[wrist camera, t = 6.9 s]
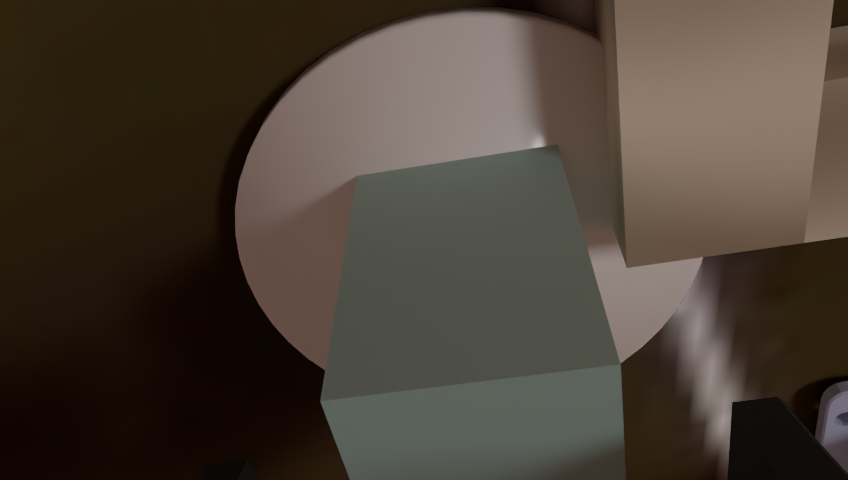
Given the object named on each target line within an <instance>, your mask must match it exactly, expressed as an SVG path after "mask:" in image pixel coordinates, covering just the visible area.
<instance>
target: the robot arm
mask: <svg viewBox="0 0 848 480" xmlns="http://www.w3.org/2000/svg"><path fill="white" fill-rule="evenodd" d="M199 480H258V479H257V477H256V475H255V473H254V471H253V469H252V467H251V465H250V463H249V461H248V459H245V460H237V461H228V462H220V463H211V464H210V465H209V466H208V467H207V468H206V470H205V471H204V473H203V474H202V476H201V477H200V479H199ZM728 480H848V381H843V382H839V383H835V384H833V385H831V386H830V387H828V388H827V389H826V390H825V391H824V392H823V395H822V397H821V402H820V408H819V414H818V420H817V426H816V433H815V437H814V436H813V435H812V433H811V432H810V431H809V430H808V429H807V428H806V427H805V425H804V424H803V423H802V422H801V421H800V420H799V418H798V417H797V416H796V415H795V414H794V413H793V411H792V410H791V409H790V408H789V407H788V406H787V404H786V403H785V402H784V401H782V400H781V399H779V398H778V397H774V398H765V399H757V400H748V401H740V402H732V418H731V434H730V450H729V466H728Z"/></svg>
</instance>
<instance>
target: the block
mask: <svg viewBox="0 0 848 480" xmlns="http://www.w3.org/2000/svg"><path fill="white" fill-rule="evenodd" d="M320 402H321V405H322V407H323V410H324V413H325V415H326V418H327V420H328V423H329V426H330V428H331V431H332V434H333V436H334V439H335V441H336V444H337V447H338V449H339V452H340V455H341V457H342V460H343V462H344V465H345V468H346V470H347V473H348V476H349V478H350V480H626V470H625V448H624V427H623V405H622V384H621V364H620V361H619V357H618V354H617V350H616V347H615V343H614V340H613V336H612V333H611V329H610V326H609V322H608V319H607V315H606V312H605V308H604V305H603V301H602V298H601V294H600V291H599V287H598V284H597V281H596V277H595V274H594V270H593V267H592V263H591V260H590V256H589V253H588V249H587V246H586V242H585V239H584V235H583V232H582V228H581V225H580V221H579V218H578V214H577V211H576V207H575V204H574V200H573V197H572V193H571V190H570V187H569V183H568V180H567V176H566V173H565V169H564V166H563V162H562V159H561V155H560V152H559V148H558V145H550V146H544V147H538V148H531V149H525V150H518V151H512V152H506V153H499V154H493V155H487V156H480V157H474V158H467V159H461V160H455V161H448V162H442V163H435V164H429V165H423V166H416V167H410V168H404V169H397V170H391V171H384V172H378V173H372V174H365V175H359V176H357V178H356V184H355V191H354V197H353V203H352V209H351V215H350V221H349V227H348V234H347V240H346V246H345V252H344V258H343V264H342V270H341V276H340V283H339V289H338V295H337V301H336V307H335V313H334V319H333V326H332V332H331V338H330V344H329V350H328V356H327V362H326V369H325V375H324V381H323V387H322V393H321V399H320Z"/></svg>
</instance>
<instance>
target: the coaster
mask: <svg viewBox="0 0 848 480" xmlns="http://www.w3.org/2000/svg"><path fill="white" fill-rule="evenodd" d="M550 145H558V148H559V152H560V155H561V159H562V162H563V166H564V169H565V173H566V176H567V180H568V183H569V187H570V190H571V193H572V197H573V200H574V204H575V207H576V211H577V214H578V218H579V221H580V225H581V228H582V232H583V235H584V239H585V242H586V246H587V249H588V253H589V256H590V260H591V263H592V267H593V270H594V274H595V277H596V281H597V284H598V287H599V291H600V294H601V298H602V301H603V305H604V308H605V312H606V315H607V319H608V322H609V326H610V329H611V333H612V336H613V340H614V343H615V347H616V350H617V354H618V357H619V361H620V363H622V362H623V361H624V360H626V359H627V358H628V357H629V356H631V355H632V354H633V353H635V352H636V351H637V350H639V349H640V348H641V347H642V346H644V345H645V344H646V343H647V342H648V341H649V340H650V339H651V338H652V337H653V336H654V335H655V334H656V333H657V332H658V331H659V330H660V329H661V328H662V327H663V326H664V324H665V323H666V322H667V321H668V319H669V318H670V317H671V316H672V315H673V313H674V312H675V311H676V310H677V308H678V307H679V305H680V304H681V302H682V300H683V299H684V297H685V295H686V294H687V292H688V291H689V289H690V287H691V285H692V283H693V281H694V278H695V276H696V274H697V272H698V269H699V267H700V265H701V262H702V259H703V257H701V258H694V259H687V260H680V261H673V262H666V263H659V264H652V265H645V266H638V267H631V268H627V267H626V264H625V261H624V258H623V256H622V253H621V250H620V247H619V244H618V241H617V238H616V235H615V233H614V230H613V224H612V207H611V190H610V172H609V155H608V138H607V121H606V103H605V86H604V69H603V52H602V45H601V43H600V41H599V39H598V37H597V35H596V34H595V33H593V32H591V31H588V30H586V29H584V28H581V27H579V26H577V25H575V24H572V23H570V22H568V21H564V20H561V19H557V18H554V17H550V16H546V15H543V14H539V13H536V12H530V11H523V10H516V9H509V8H502V7H456V8H448V9H440V10H432V11H425V12H422V13H418V14H414V15H410V16H406V17H402V18H398V19H394V20H391V21H389V22H386V23H384V24H381V25H379V26H376V27H374V28H371V29H369V30H366V31H364V32H361V33H359V34H358V35H356V36H354V37H352V38H351V39H349V40H347V41H345V42H343V43H342V44H340V45H338V46H336V47H335V48H333V49H331V50H330V51H329V52H327V53H326V54H325V55H323V56H322V57H321V58H319V59H318V60H317V61H316V62H314V63H313V64H312V65H310V66H309V67H308V68H306V69H305V70H304V71H303V72H302V73H301V74H300V75H299V76H298V77H297V78H296V79H295V80H294V82H293V83H292V84H291V85H290V86H289V87H288V88H287V89H286V90H285V91H284V92H283V93H282V95H281V96H280V97H279V99H278V100H277V102H276V103H275V104H274V106H273V107H272V109H271V110H270V111H269V113H268V114H267V116H266V117H265V119H264V121H263V123H262V125H261V127H260V129H259V131H258V133H257V135H256V137H255V139H254V141H253V143H252V146H251V148H250V151H249V153H248V155H247V159H246V162H245V165H244V168H243V171H242V174H241V177H240V180H239V185H238V192H237V198H236V205H235V235H236V240H237V246H238V252H239V258H240V261H241V264H242V267H243V270H244V273H245V276H246V279H247V282H248V284H249V286H250V288H251V290H252V292H253V294H254V296H255V298H256V300H257V302H258V304H259V305H260V307H261V308H262V310H263V311H264V313H265V314H266V315H267V317H268V318H269V320H270V321H271V323H272V324H273V325H274V326H275V327H276V328H277V330H278V331H279V332H280V333H281V334H282V335H283V336H284V337H285V338H286V339H287V341H288V342H289V343H290V344H292V345H293V346H294V347H295V348H296V349H297V350H299V351H300V352H301V353H302V354H303V355H304V356H306V357H307V358H308V359H309V360H311V361H312V362H314V363H315V364H317V365H318V366H320V367H321V368H323V369H324V370H325V369H326V362H327V356H328V350H329V344H330V338H331V332H332V326H333V319H334V313H335V307H336V301H337V295H338V289H339V283H340V276H341V270H342V264H343V258H344V252H345V246H346V240H347V234H348V227H349V221H350V215H351V209H352V203H353V197H354V191H355V184H356V178H357V176H359V175H365V174H372V173H378V172H384V171H391V170H397V169H404V168H410V167H416V166H423V165H429V164H435V163H442V162H448V161H455V160H461V159H467V158H474V157H480V156H487V155H493V154H499V153H506V152H512V151H518V150H525V149H531V148H538V147H544V146H550Z"/></svg>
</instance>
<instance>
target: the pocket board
mask: <svg viewBox="0 0 848 480" xmlns="http://www.w3.org/2000/svg"><path fill="white" fill-rule="evenodd" d="M833 2H834V0H594V7H595V23H596V35H597V37H598V39H599V41H600V43H601V45H602V52H603V69H604V86H605V103H606V121H607V138H608V155H609V172H610V190H611V207H612V224H613V230H614V233H615V235H616V238H617V241H618V244H619V247H620V250H621V253H622V256H623V258H624V261H625V264H626V267H627V268H631V267H638V266H645V265H652V264H659V263H666V262H673V261H680V260H687V259H694V258H701V257H708V256H715V255H722V254H729V253H736V252H743V251H750V250H757V249H764V248H771V247H778V246H785V245H792V244H799V243H806V242H813V241H820V240H827V239H834V238H841V237H848V26H842V27H836V28H830V27H831V18H832V10H833Z"/></svg>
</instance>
